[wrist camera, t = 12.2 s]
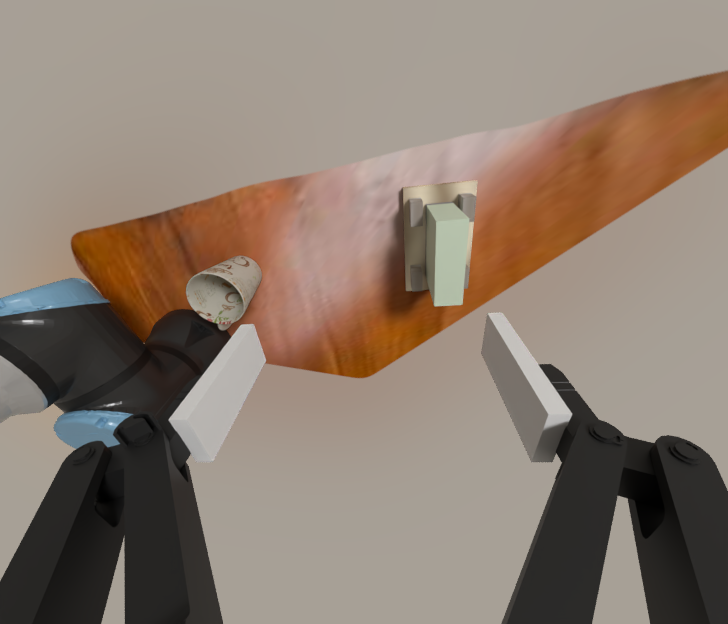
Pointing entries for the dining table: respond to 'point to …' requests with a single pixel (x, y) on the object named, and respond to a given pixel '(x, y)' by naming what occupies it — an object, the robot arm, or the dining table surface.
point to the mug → (224, 290)
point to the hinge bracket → (416, 225)
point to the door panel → (446, 252)
